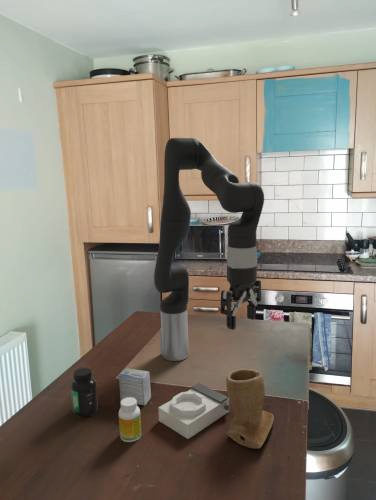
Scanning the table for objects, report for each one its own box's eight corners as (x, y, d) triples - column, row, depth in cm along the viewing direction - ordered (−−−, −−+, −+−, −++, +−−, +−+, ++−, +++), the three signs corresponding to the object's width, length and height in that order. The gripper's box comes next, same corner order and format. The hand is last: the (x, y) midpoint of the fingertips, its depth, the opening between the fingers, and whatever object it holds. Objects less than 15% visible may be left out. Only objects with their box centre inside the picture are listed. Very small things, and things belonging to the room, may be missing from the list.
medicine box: (151, 398, 124) (150, 371, 122) (145, 406, 120) (143, 378, 118) (127, 393, 127) (125, 367, 125) (120, 402, 123) (118, 374, 121)
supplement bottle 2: (137, 444, 105) (135, 408, 102) (116, 441, 106) (114, 406, 104) (144, 430, 110) (142, 396, 108) (124, 428, 111) (122, 394, 109)
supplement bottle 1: (76, 421, 114) (72, 380, 112) (70, 408, 120) (66, 369, 118) (101, 413, 117) (98, 374, 115) (94, 401, 123) (91, 363, 121)
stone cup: (235, 408, 118) (235, 359, 115) (278, 419, 113) (279, 367, 109) (214, 441, 105) (213, 386, 102) (260, 455, 100) (261, 397, 96)
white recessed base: (191, 441, 105) (190, 421, 104) (159, 420, 113) (158, 402, 112) (232, 413, 116) (232, 395, 115) (200, 396, 124) (199, 379, 123)
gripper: (246, 255, 114) (245, 312, 118) (212, 266, 104) (212, 328, 108) (270, 260, 109) (269, 319, 113) (236, 271, 99) (236, 336, 103)
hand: (241, 323), depth 110 cm, fingers open, 8 cm apart
